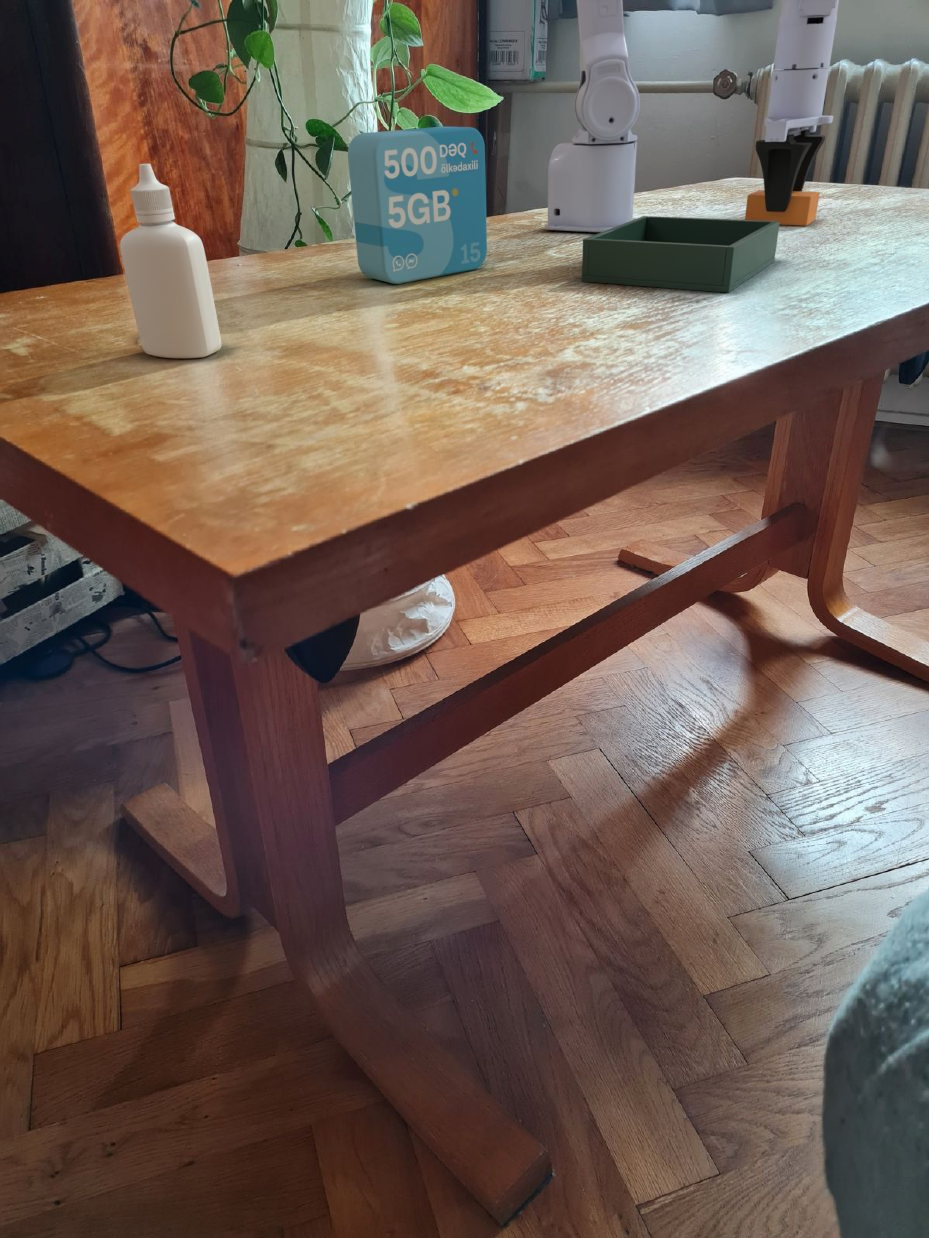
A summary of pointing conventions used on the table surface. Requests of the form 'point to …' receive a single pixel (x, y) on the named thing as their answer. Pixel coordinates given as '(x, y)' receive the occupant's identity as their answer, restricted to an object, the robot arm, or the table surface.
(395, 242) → the data package
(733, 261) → the bin
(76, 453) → the table surface
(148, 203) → the eye dropper bottle
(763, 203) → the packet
